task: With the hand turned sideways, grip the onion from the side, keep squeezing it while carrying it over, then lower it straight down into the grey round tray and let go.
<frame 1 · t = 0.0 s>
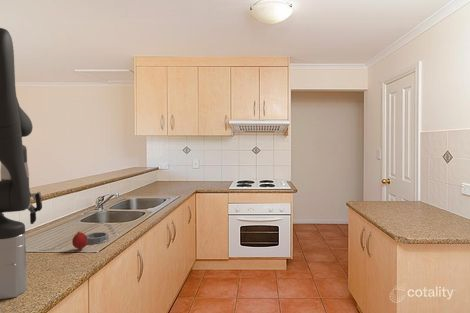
hand: (17, 224, 107), 17 cm above the counter, tool pointing down, fingers open, 8 cm apart
grey round tray: (96, 240, 146), on the counter
onion: (80, 250, 133), on the counter
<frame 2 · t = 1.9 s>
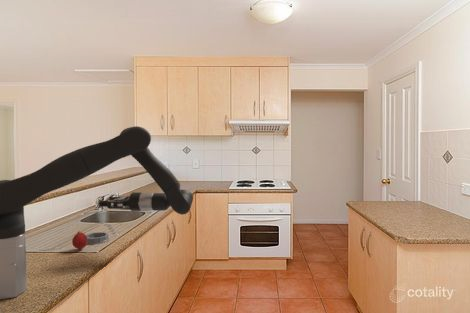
hand: (104, 201, 131), 20 cm above the counter, tool horizontal, fingers open, 8 cm apart
nothing on the counter moved.
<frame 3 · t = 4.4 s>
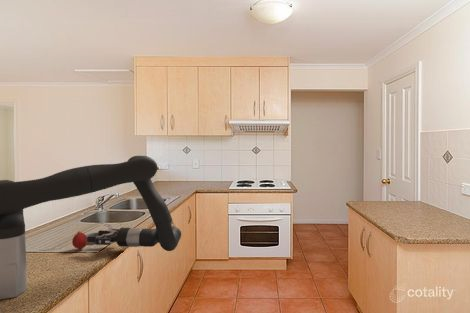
hand: (93, 236, 132), 6 cm above the counter, tool horizontal, fingers open, 8 cm apart
nothing on the counter moved.
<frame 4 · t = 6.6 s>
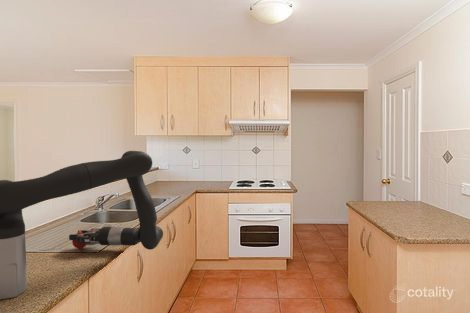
hand: (74, 235, 133), 6 cm above the counter, tool horizontal, fingers closed on onion, 5 cm apart
onion: (80, 250, 133), on the counter, touching gripper
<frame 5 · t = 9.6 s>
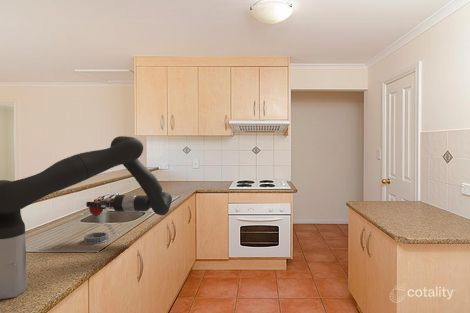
hand: (90, 203, 145), 17 cm above the counter, tool horizontal, fingers closed on onion, 5 cm apart
onion: (96, 217, 145), point 11 cm above the counter, touching gripper
when the fingers open (7 cm above the counter, at t = 12.2 s): onion stays where it is, resting on grey round tray.
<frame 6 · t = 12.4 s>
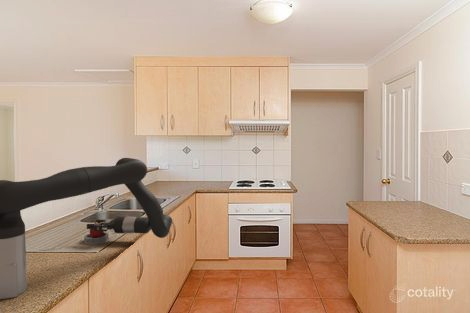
hand: (91, 224, 145), 7 cm above the counter, tool horizontal, fingers open, 7 cm apart
onion: (96, 239, 146), resting on grey round tray
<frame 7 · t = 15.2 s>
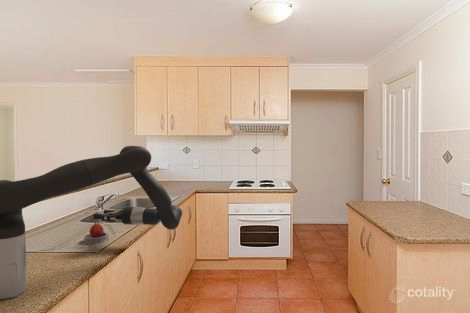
hand: (98, 214, 140), 13 cm above the counter, tool horizontal, fingers open, 8 cm apart
nothing on the counter moved.
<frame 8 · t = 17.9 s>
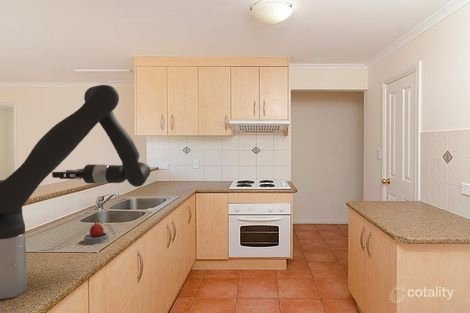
hand: (59, 173, 128), 32 cm above the counter, tool horizontal, fingers open, 8 cm apart
nothing on the counter moved.
at the end: onion 0.1 cm off-centre on the grey round tray, point 0.3 cm above the grey round tray's base; onion tilted 0°; the gripper is holding nothing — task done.
